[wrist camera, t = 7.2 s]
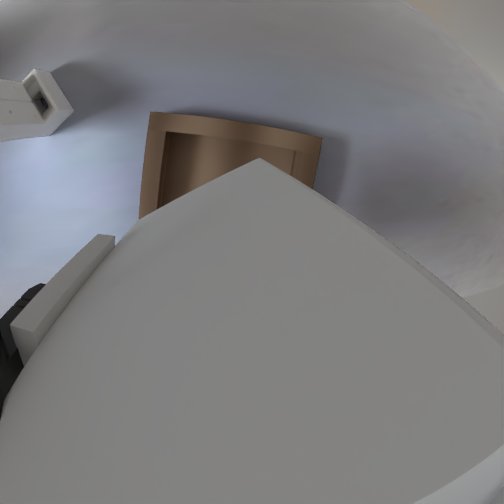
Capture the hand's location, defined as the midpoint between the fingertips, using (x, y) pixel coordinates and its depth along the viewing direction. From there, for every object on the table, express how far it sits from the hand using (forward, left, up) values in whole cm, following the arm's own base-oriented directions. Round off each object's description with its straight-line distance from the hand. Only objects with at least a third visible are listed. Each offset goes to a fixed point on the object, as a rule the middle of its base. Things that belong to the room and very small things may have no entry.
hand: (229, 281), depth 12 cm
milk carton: (0, 0, -4) cm, 4 cm away
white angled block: (-19, +8, -17) cm, 27 cm away
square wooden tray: (0, 0, -16) cm, 16 cm away
